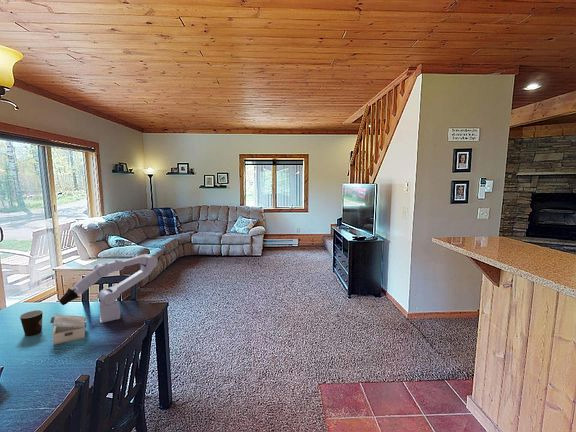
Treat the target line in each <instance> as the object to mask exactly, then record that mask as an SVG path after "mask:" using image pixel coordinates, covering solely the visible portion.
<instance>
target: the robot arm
mask: <svg viewBox="0 0 576 432" xmlns="http://www.w3.org/2000/svg"><path fill="white" fill-rule="evenodd" d="M158 262H159V260H158V258H157V257H156V256H155V255H151V254H149V253H144V254H139V255H137V256H134V257H131V258H127V259H124V260H121V259H114V261H110V262H107V261H106V262H105V263H99V264H95V266H94V267H93V270H92V271H90V272H89V273H87V274H85V276H84V277H82V278H81V279H79V281H78V282H76V283H75V284H74V283H71V286H72V288H69V287H68V288H67V290H66V292H65V293H64V295H62V296H61V298H60V299H59V300H58V302H59V303H60V304H61V305H62V306H65V305H67V304H68V303H70V302H72V301H73V300H76V299H80V296H79V294H80V295H83V294H84V292H86V291H87V290H88V289H90V287H92V286H93V285H95V283H97V282H98V281H100V279H101V278H103V277H107V276H109V274H112V273H115V272H118V271H122V270H123V269H124V268H126V267H129V266H133V265H137V264H140V269H139V270H138V271H136V272H134V273H133V274H132V275H130V276H128V277H127V278H125V279H124V280H122V281H120V282H118V283H117V284H115V285H113V286H110V287H107V288H104V289H101V290H100V291H98V293H97V299H98V300H99V304H98V305H99V314H100V315H99V322H100V324H102V323H107V322H111V321H114V320H119V319H121V308H120V301H119V300H117V299H119V298H120V295H121V294H122V293H124V292H125V291H127V290H128V289H131V287H133V286H134V285H136V284H138V283H139V282H141V281H142V280H143V279H146V277H149V276H150V275H151V273H152V272H153V270H154V269H155V268H156V267H158Z"/></svg>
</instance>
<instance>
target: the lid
mask: <svg viewBox="0 0 576 432" xmlns="http://www.w3.org/2000/svg"><path fill="white" fill-rule="evenodd" d="M84 318H85V316H83V315H70V314H58V313H56V314H54V316H51V318H50V322H49V323H50V324H52V327H54V326H55V327H75V328H84V327H85V324H84Z"/></svg>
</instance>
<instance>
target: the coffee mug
mask: <svg viewBox="0 0 576 432" xmlns="http://www.w3.org/2000/svg"><path fill="white" fill-rule="evenodd" d="M43 314H44V313H43V310H40V309H39V310H38V309H36V310H30V311H26V312H24V313H22V314H21V315H19V319H20V324H21V326H22V328H23V333H24V336H25V337H34V336H37V335H40V334H41V333H42V332H43Z"/></svg>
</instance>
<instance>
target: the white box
mask: <svg viewBox="0 0 576 432" xmlns="http://www.w3.org/2000/svg"><path fill="white" fill-rule="evenodd" d="M85 328H87V316H86V317H85V316H84V328H75V327H55V326H53V329H52V343H53V346H55V345H59V344H64V343H68V342H73V341H77V340H79V339H84V338H86V337H85V335H86V334H85V332H86V331H85Z"/></svg>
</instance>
